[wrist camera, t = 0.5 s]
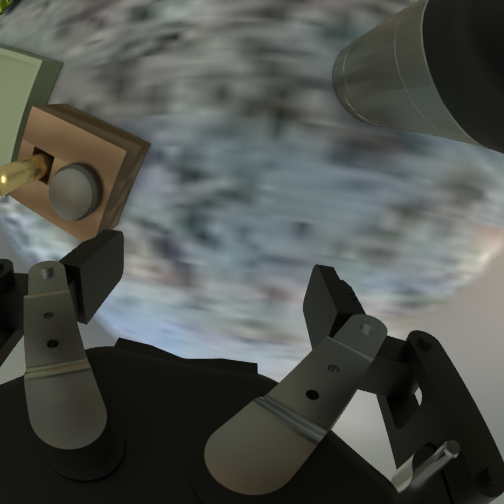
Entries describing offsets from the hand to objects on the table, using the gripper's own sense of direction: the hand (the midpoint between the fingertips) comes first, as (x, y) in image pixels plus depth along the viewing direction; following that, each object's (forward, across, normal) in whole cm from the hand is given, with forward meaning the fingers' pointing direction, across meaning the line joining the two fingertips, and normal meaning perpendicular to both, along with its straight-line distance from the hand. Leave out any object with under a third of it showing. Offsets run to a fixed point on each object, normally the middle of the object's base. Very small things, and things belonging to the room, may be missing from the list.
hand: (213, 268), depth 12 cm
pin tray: (+18, +31, -7) cm, 37 cm away
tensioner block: (+19, +17, 0) cm, 25 cm away
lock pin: (+18, +19, -1) cm, 26 cm away
